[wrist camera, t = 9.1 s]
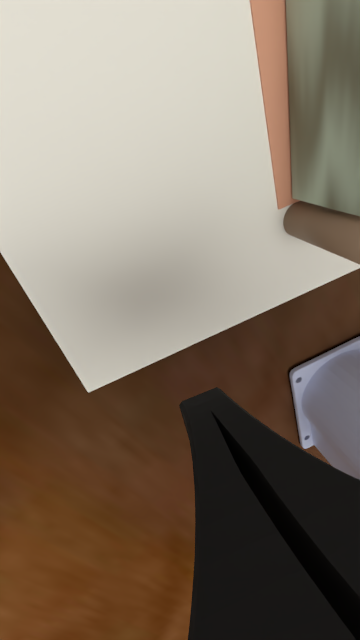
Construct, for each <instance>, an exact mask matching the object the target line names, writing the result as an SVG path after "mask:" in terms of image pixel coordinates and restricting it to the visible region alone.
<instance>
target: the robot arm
mask: <svg viewBox="0 0 360 640" xmlns="http://www.w3.org/2000/svg"><path fill="white" fill-rule="evenodd" d="M290 381H291V388H292V394H293V400H294V406H295V413H296V419H297V425H298V432H299V438H300V444H301V446H302V447H303V448H304V449H307V448H309V447H311V446H313V445H315V447H316V448H317V449H318V450H319V451H320V452H321V454H322V455H323V456H324V457H325V458H326V459H327V461H328V462H329V463H330V464H331V465H332V466H331V465H329V464H327V463H325V462H323V461H321V460H320V459H318V458H316V457H314V456H312V455H311V454H309V453H307V452H305V451H304V450H302V449H300V448H299V447H297V446H295V445H294V444H292V443H291V442H289V441H288V440H286V439H285V438H283V437H281V436H280V435H278V434H277V433H275V432H274V431H273V430H271V429H270V428H268V427H267V426H265V425H264V424H263V423H261V422H260V421H259V420H257V419H256V418H254V417H253V416H252V415H250V414H249V413H248V412H247V411H245V410H244V409H243V408H242V407H240V406H239V405H238V404H237V403H235V402H234V401H233V400H232V399H231V398H229V397H228V396H227V395H226V394H225V393H224V392H223V391H222V390H221V389H219V388H217V387H216V388H214V389H211V390H209V391H207V392H204V393H202V394H199V395H197V396H194V397H192V398H189V399H187V400H184V401H182V402H181V404H180V405H179V406H180V409H181V413H182V416H183V419H184V423H185V426H186V430H187V433H188V437H189V440H190V446H191V453H192V460H193V472H194V485H195V517H196V527H195V562H194V578H193V591H192V605H191V616H190V626H189V635H188V640H360V336H359V337H357V338H355V339H353V340H350V341H348V342H346V343H344V344H342V345H340V346H338V347H336V348H334V349H332V350H330V351H328V352H326V353H324V354H322V355H320V356H318V357H316V358H314V359H312V360H310V361H308V362H306V363H303V364H301V365H299V366H297V367H295V368H294V369H292V370H291V372H290Z"/></svg>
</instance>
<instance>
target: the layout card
mask: <svg viewBox="0 0 360 640" xmlns="http://www.w3.org/2000/svg"><path fill="white" fill-rule="evenodd" d="M0 252H1V254H2V256H3V257H4V259H5V260H6V262H7V264H8V265H9V267H10V268H11V270H12V272H13V273H14V275H15V276H16V278H17V280H18V281H19V283H20V284H21V286H22V288H23V289H24V291H25V292H26V294H27V296H28V297H29V299H30V300H31V302H32V304H33V305H34V307H35V308H36V310H37V312H38V313H39V315H40V316H41V318H42V320H43V321H44V323H45V324H46V326H47V328H48V329H49V331H50V332H51V334H52V336H53V337H54V339H55V340H56V342H57V344H58V345H59V347H60V348H61V350H62V352H63V353H64V355H65V356H66V358H67V360H68V361H69V363H70V364H71V366H72V368H73V369H74V371H75V372H76V374H77V376H78V377H79V379H80V380H81V382H82V384H83V385H84V387H85V388H86V390H87V392H88V393H89V392H91V391H93V390H95V389H98V388H100V387H102V386H104V385H106V384H108V383H111V382H113V381H115V380H117V379H119V378H121V377H124V376H126V375H128V374H130V373H132V372H134V371H137V370H139V369H141V368H143V367H145V366H148V365H150V364H152V363H154V362H156V361H158V360H161V359H163V358H165V357H167V356H169V355H171V354H174V353H176V352H178V351H180V350H182V349H184V348H187V347H189V346H191V345H193V344H195V343H197V342H200V341H202V340H204V339H206V338H208V337H211V336H213V335H215V334H217V333H219V332H221V331H224V330H226V329H228V328H230V327H232V326H234V325H237V324H239V323H241V322H243V321H245V320H247V319H250V318H252V317H254V316H256V315H258V314H260V313H263V312H265V311H267V310H269V309H271V308H273V307H276V306H278V305H280V304H282V303H284V302H287V301H289V300H291V299H293V298H295V297H297V296H300V295H302V294H304V293H306V292H308V291H310V290H313V289H315V288H317V287H319V286H321V285H323V284H326V283H328V282H330V281H332V280H334V279H336V278H339V277H341V276H343V275H345V274H347V273H350V272H352V271H354V270H356V269H358V268H360V216H357V215H353V214H349V213H345V212H342V211H338V210H334V209H330V208H327V207H323V206H319V205H315V204H312V203H308V202H304V201H300V200H297V199H293V198H292V174H291V144H290V113H289V83H288V52H287V22H286V0H0Z"/></svg>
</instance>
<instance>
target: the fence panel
mask: <svg viewBox="0 0 360 640" xmlns="http://www.w3.org/2000/svg"><path fill="white" fill-rule="evenodd" d="M286 22H287V52H288V83H289V113H290V144H291V174H292V198H293V199H297V200H300V201H304V202H308V203H312V204H315V205H319V206H323V207H327V208H330V209H334V210H338V211H342V212H345V213H349V214H353V215H357V216H360V0H286Z"/></svg>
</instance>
